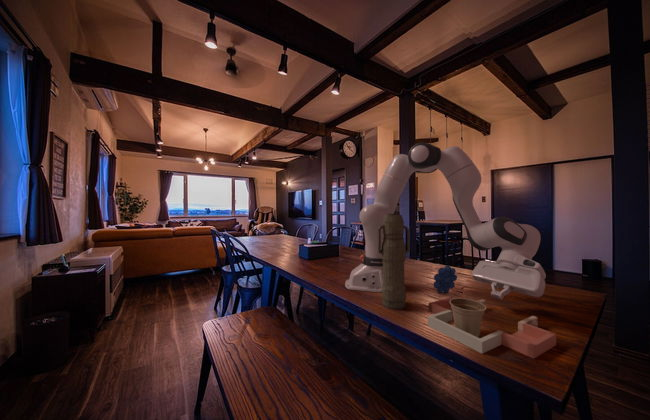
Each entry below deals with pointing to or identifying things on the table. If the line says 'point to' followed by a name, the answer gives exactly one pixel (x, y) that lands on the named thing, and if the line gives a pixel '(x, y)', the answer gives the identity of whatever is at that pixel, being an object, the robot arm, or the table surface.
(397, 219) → the thermos
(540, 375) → the table surface
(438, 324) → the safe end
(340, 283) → the table surface
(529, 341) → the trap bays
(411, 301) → the table surface
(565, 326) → the table surface
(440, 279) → the grapes
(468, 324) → the flower pot
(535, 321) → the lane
